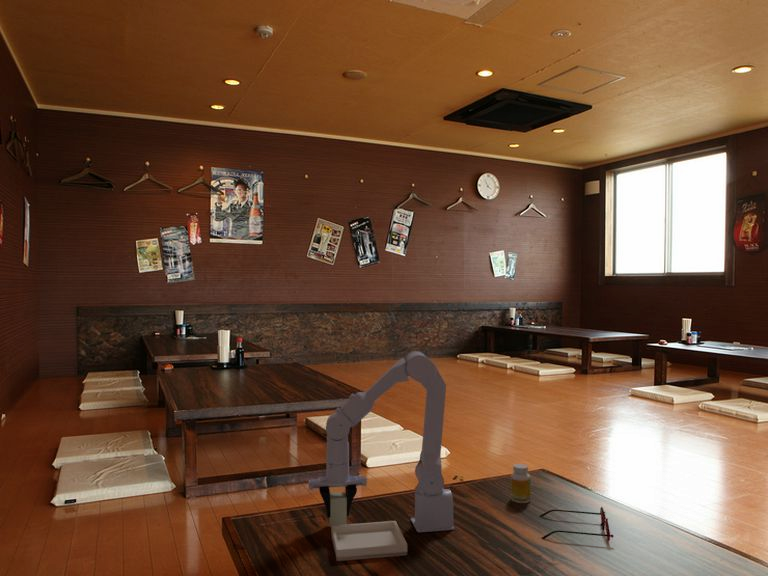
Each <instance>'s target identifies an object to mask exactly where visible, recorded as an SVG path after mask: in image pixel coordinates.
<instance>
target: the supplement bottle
mask: <svg viewBox="0 0 768 576" xmlns="http://www.w3.org/2000/svg"><path fill="white" fill-rule="evenodd" d="M512 468H513V469H512V470H513V472H512V473H511V474H510V500H511V501H512V502H515V503H517V504H527V503H529V502H530V501H531V475H530V474H529V473H528V471H529V469H528V468H529V467H528V465H526V464H524V463H515V464H513V466H512Z"/></svg>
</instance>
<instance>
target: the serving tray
mask: <svg viewBox="0 0 768 576" xmlns="http://www.w3.org/2000/svg"><path fill="white" fill-rule="evenodd" d="M330 528H331V533H330V534H331V541H332V546H333V551H334V554H335V558H336V562H342V561H343V562H344V561H355V560H356V561H357V560H367V559H376V558H378V559H379V558H390V557H402V556H408V543H407V541H406V538H405V537H404V535H403V532H402V531H401V528H400V527H399V525H398V523H397V521H396V520H386V521H375V522H365V523H364V522H362V523H347V524H346V525H333V526H330Z"/></svg>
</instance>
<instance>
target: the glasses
mask: <svg viewBox="0 0 768 576" xmlns="http://www.w3.org/2000/svg"><path fill="white" fill-rule="evenodd" d="M599 510H600V511H599V512H592V511H591V512H589V511H580V510H579V511H577V510H568V509H567V510H565V509H550V510H548V511H546V512H544V513H542V514H539V516H538V518H543V517H544V516H546V515H548V514H550V513H551V512H552V513H553V512H562V513H563V512H564V513H577V514H586V515H596V516H597V515H598V516H600V520H601V521H600V526H601V530H602V531H605V533H606V534H604V533H591V532H580V531H570V530H553V531H551V532H549V533H547V534H545V535H543V536H542V537H541V538H540V539H541V540H545V539H546V538H548V537H549V536H551V535H553V534H555V533H566V534H576V535H587V536H598V537H606V541H607V542H609V541H611V538H612V539H613V538H615V537H614V534H612V533H611V530H610V526H609V525H610V524H609V518H606V511H604V507H603V506H601V507H600V509H599Z"/></svg>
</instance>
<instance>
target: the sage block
mask: <svg viewBox="0 0 768 576" xmlns="http://www.w3.org/2000/svg"><path fill="white" fill-rule="evenodd" d="M347 517H348V516H347V497H346V494H345V491H341V492H330V518H328V519H329V520H328V521H329V526H330V527H331V526H333V525H346V524H348V523H347V521H348V519H347Z"/></svg>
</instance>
